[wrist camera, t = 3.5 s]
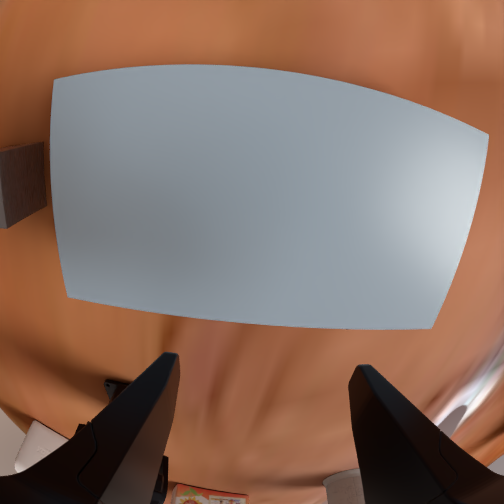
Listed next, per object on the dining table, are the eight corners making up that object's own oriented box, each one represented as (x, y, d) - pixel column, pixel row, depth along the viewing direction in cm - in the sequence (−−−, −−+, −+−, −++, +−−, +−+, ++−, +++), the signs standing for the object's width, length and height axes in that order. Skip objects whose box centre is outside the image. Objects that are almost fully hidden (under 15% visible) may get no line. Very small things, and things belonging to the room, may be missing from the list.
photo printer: (83, 445, 35) (63, 500, 24) (81, 451, 37) (63, 502, 26) (33, 416, 33) (8, 467, 22) (34, 424, 35) (11, 472, 23)
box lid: (426, 321, 16) (431, 328, 15) (73, 290, 15) (67, 297, 15) (480, 133, 11) (489, 135, 10) (62, 80, 10) (54, 79, 10)
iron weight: (47, 205, 18) (6, 228, 14) (9, 204, 18) (-30, 225, 14) (44, 141, 16) (-1, 152, 12) (4, 147, 16) (-38, 159, 12)
